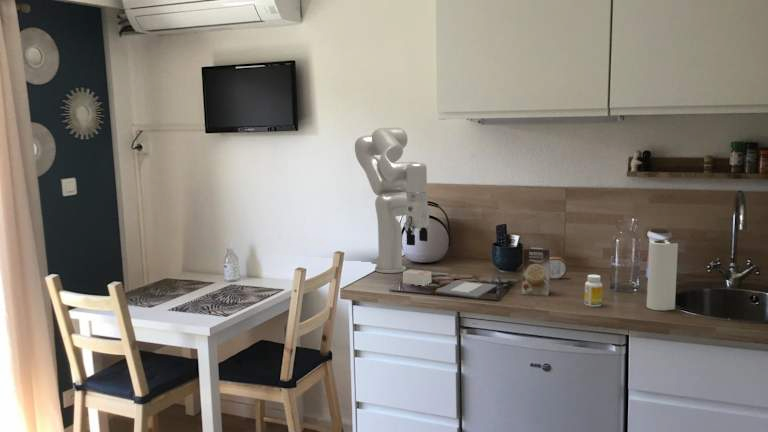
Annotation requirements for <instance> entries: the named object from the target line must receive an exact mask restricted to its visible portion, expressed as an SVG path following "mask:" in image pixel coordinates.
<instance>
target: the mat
mask: <svg viewBox="0 0 768 432" xmlns="http://www.w3.org/2000/svg"><path fill="white" fill-rule="evenodd" d="M496 286H497V287H498V284H493V283H492V284H491V283H483V282H475V281H468V280H461V279H460V280H459V279H456V280H454V281H452V282H450V283H449V284H446V285H444V286H442V287H439V288H438V289H436V290H434V292H435V293H436V294H437V293H438V294H443V295H451V296H459V297H468V298H474V299H479V298H480V297H482V296H484V295H485V294H487V293H489V292H490V291H492V290H494V289H495V288H494V287H496ZM497 287H496V288H497ZM493 288H494V289H493ZM491 289H492V290H491ZM488 291H489V292H488Z"/></svg>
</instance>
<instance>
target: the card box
mask: <svg viewBox="0 0 768 432" xmlns="http://www.w3.org/2000/svg"><path fill="white" fill-rule="evenodd" d="M402 283H403V284H404V283H406V285H411V284H414V285H413V286H418V285H421V287H426V286H428V285H430V284H429V283H431V284H432V271H430V270H421V269H420V270H417V269H411V268H410V269H408V270H407V269H406V270H405V271H403V272H402ZM427 284H428V285H427ZM425 285H426V286H425Z"/></svg>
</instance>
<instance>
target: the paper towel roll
mask: <svg viewBox="0 0 768 432" xmlns="http://www.w3.org/2000/svg"><path fill="white" fill-rule="evenodd" d="M678 248H679V243H678V242H677V243H676V242H675V243H671V242H669V241H664V240H650V241H649V243H648V263H647V264H648V267H647V290H646V293H647V294H646V308H647V309H649V310H653V311H670V310H671V311H672V310H675V309H676V292H677V291H676V289H677V272H678V270H677V268H678V253H679V252H678Z"/></svg>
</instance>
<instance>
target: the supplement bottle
mask: <svg viewBox="0 0 768 432" xmlns="http://www.w3.org/2000/svg"><path fill="white" fill-rule="evenodd" d="M586 279H587V281H586V282H585V283H584V297H583V300H584V305H585V306H587V307H592V308H594V307H595V308H599V307H601V306H602V302H603V283H602V281H601V275H598V274H587V278H586Z"/></svg>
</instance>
